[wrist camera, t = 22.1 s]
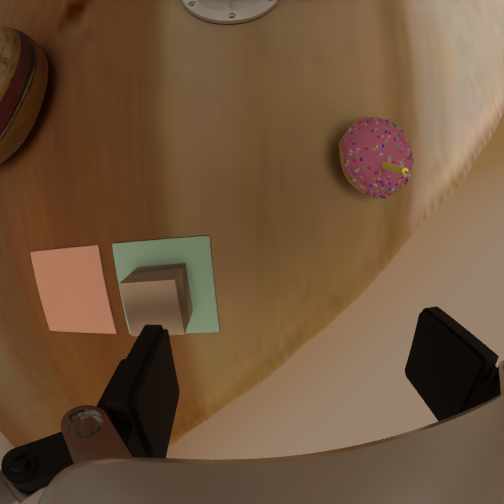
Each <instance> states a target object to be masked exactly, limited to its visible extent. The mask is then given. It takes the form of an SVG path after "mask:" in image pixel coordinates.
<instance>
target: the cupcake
mask: <svg viewBox="0 0 504 504" xmlns="http://www.w3.org/2000/svg"><path fill="white" fill-rule="evenodd" d="M338 146H339V157H340V163H341V168H342V171H343V173H344V176H345V178H346V179H347V181H348V182H349V183H350V184H351V185H352V186H353V187H354V188H355V189H356V190H357V191H359V192H361V193H363V194H366V195H369V196H372V197H375V198H378V199H381V198H386V197H390V196H391V195H392V194H394V193H395V192H396V191H397V190H399V189H401V188H402V186H403V185H404V184H406V183H407V181H408V178H409V177H410V174H411V173H412V172H411V169H412V164H413V162H412V161H413V159H412V152H411V146H410V142H409V141H408V139H407V138H406V137H405V135H404V134H403V131H401V130H400V129H399V128H398V127H397V126H396V125H394V124H393V123H391V122H389V121H388V120H384V119H381V118H361V119H358V120H356V121H354V122H353V123H352V124H351V125H350V127H349V128H348V129H347V131H346V132H345V133H344V135H343V136H342V138H341V139H340V141H339V145H338Z"/></svg>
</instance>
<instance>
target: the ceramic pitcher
mask: <svg viewBox="0 0 504 504" xmlns="http://www.w3.org/2000/svg"><path fill="white" fill-rule="evenodd" d="M47 81H48V61H47V57H46V55H45V53H44V52H43V50H42V49H41V47H40V46H39V45H38V44H37V43H36V42H35V41H34V40H32V39H31V38H30V37H29V36H28V35H26V34H24V33H23V32H21V31H19V30H16V29H13V28H8V27H2V26H0V164H1V163H3V162H4V161H5V160H7V159H8V158H9V157H10V156H12V155H13V153H14V152H15V151H16V150H17V149H18V148H19V147H20V146H21V144H22V143H23V142H24V141H25V139H26V138H27V136H28V134H29V132H30V131H31V129H32V127H33V126H34V123H35V121H36V118H37V116H38V113H39V111H40V108H41V105H42V102H43V99H44V95H45V91H46V87H47Z"/></svg>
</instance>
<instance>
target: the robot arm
mask: <svg viewBox="0 0 504 504" xmlns="http://www.w3.org/2000/svg"><path fill="white" fill-rule="evenodd" d="M277 2H278V0H182V3H183V5H184V6H185V8H186V9H187V10H188V11H189V12H190V13H191V14H192V15H194V16H196V17H197V18H199V19H202V20H204V21H208V22H212V23H219V24H237V23H243V22H247V21H251V20H254V19H257V18H259V17H261V16H263V15H265V14H266V13H268V12H269V11H270V10H271V9H272V8H273V7H274V6H275V5H276V3H277ZM497 359H498V355H496V354H495V353H494V352H493V351H492V350H490V349H489V348H488V347H487V346H486V345H485V344H483V343H482V342H481V341H480V340H479V339H477V338H476V337H475V336H474V335H473V334H471V333H470V332H469V331H467V330H466V329H465V328H464V327H463V326H461V325H460V324H459V323H458V322H456V321H455V320H454V319H453V318H451V317H450V316H449V315H448V314H446V313H445V312H444V311H442V310H441V309H440V308H439V307H431V308H425V309H423V311H422V312H421V313H420V314H419V317H418V322H417V326H416V330H415V334H414V338H413V342H412V346H411V350H410V354H409V357H408V361H407V365H406V368H405V374H406V377H407V378H408V379H409V381H410V382H411V384H412V385H413V386H414V388H415V389H416V390H417V392H418V393H419V395H420V396H421V397H422V399H423V400H424V401H425V403H426V404H427V406H428V407H429V408H430V410H431V411H432V413H433V414H434V415H435V417H436V418H437V420H438V421H439V422H436V423H433V424H430V425H428V426H425V427H422V428H419V429H416V430H413V431H409V432H406V433H403V434H399V435H396V436H392V437H389V438H385V439H381V440H377V441H373V442H369V443H365V444H360V445H355V446H351V447H346V448H341V449H335V450H329V451H323V452H317V453H311V454H302V455H294V456H285V457H273V458H258V459H232V460H200V459H169V458H166V454H167V449H168V444H169V440H170V435H171V430H172V426H173V421H174V417H175V412H176V408H177V404H178V399H179V386H178V381H177V376H176V371H175V366H174V361H173V355H172V350H171V344H170V338H169V333H168V330H167V329H163V327H162V325H148V324H146V325H145V326H144V327H143V329H142V331H141V333H140V334H139V336H138V338H137V340H136V342H135V343H134V345H133V347H132V349H131V351H130V353H129V354H128V356H127V358H126V359H123V360H122V361H121V362H120V363H119V365H118V367H117V369H116V371H115V373H114V374H113V376H112V378H111V380H110V382H109V384H108V385H107V387H106V389H105V391H104V393H103V395H102V397H101V399H100V401H99V402H98V404H97V406H92V405H83V406H78V407H76V408H73V409H71V410H70V411H69V412H67V413H66V414H65V416H64V417H63V418H62V421H61V430H62V432H59V433H56V434H54V435H51V436H48V437H46V438H43V439H40V440H37V441H34V442H31V443H28V444H25V445H22V446H19V447H16V448H14V449H12V450H10V451H9V452H8V453H7V454H6V455H5V456H4V458H3V460H2V465H1V466H2V469H1V470H0V504H504V361H501V363H500V364H499V366H498V368H497V367H496V366H495V364H496V362H497Z"/></svg>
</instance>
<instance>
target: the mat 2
mask: <svg viewBox="0 0 504 504" xmlns="http://www.w3.org/2000/svg"><path fill="white" fill-rule="evenodd" d="M112 248H113V254H114V261H115V266H116V272H117V278H118V283H120V282H121V281H122V280H123V279H125V278H126V277H127V276H128V275H129V274H130V273H131V272H132V271H134V270H135V269H136V268H137V267H144V266H156V265H168V264H179V263H186V269H187V276H188V283H189V290H190V296H191V302H192V308H193V312H192V315H191V318H190V321H189V324H188V327H187V329H186V332H185V333H208V332H220V330H219V321H218V313H217V304H216V295H215V286H214V276H213V266H212V256H211V245H210V235H208V236H195V237H182V238H170V239H158V240H146V241H134V242H123V243H113V244H112ZM119 288H120V286H119ZM120 293H121V290H120ZM121 298H122V295H121ZM122 303H123V299H122ZM123 307H124V304H123ZM124 312H125V308H124ZM125 316H126V312H125ZM126 321H127V325H128V329H129V333H130V334H131V332H130V328H129V324H128V320H127V316H126Z"/></svg>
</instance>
